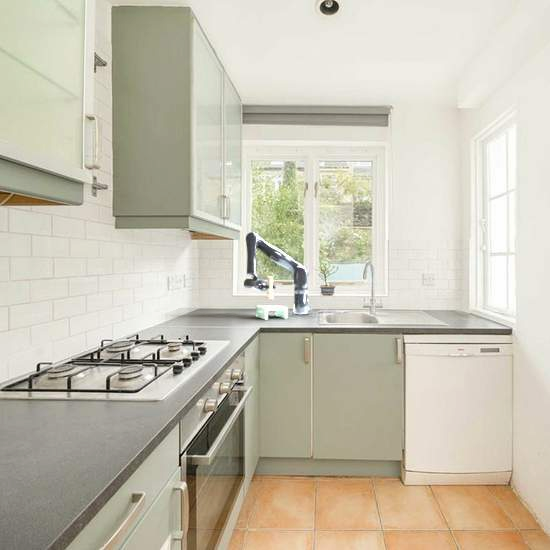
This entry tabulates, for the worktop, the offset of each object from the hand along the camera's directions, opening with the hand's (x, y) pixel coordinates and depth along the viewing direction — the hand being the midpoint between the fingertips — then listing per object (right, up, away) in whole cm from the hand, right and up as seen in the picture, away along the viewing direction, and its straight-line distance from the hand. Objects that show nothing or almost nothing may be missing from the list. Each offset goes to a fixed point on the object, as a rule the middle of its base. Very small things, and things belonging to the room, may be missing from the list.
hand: (271, 287), depth 297 cm
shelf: (0, -20, +3) cm, 20 cm away
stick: (-1, -7, +3) cm, 8 cm away
